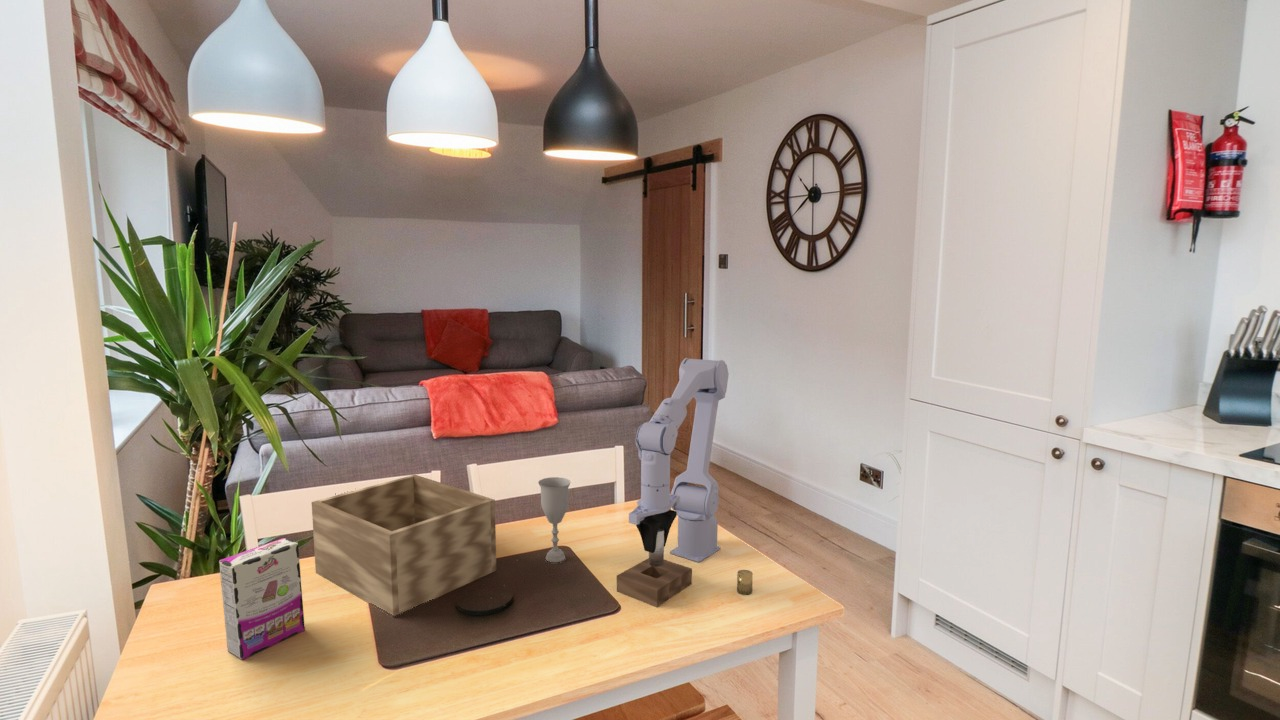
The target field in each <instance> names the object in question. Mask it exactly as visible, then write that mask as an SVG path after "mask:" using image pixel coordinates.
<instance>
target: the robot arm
mask: <svg viewBox="0 0 1280 720" xmlns="http://www.w3.org/2000/svg"><path fill="white" fill-rule="evenodd" d="M678 379H679V380H678V383H677V385H676V387H675V388H674V390H673V392H672V395H671V397H667V398H664V399H663V400H662V401H661V403H660V404H659V406H658V408H657V409H656V410H655V412H654V414H653V415H652V416H651V418H650V420H649V421H646V422H643V424H640V425H639V426H638V429H637V431H636V435H635V446H636V449H637V451H638V459H639V460H640V463H641V464H640V499H639V500H637V502H636V504H637V506H636V507H635V508H634V509H633V510H632V511H630V512H629V513H628V523H629V524H632V525H635V526H636V528H637V530H638V532H639V534H640V538H641V542H642V546H643V549H644V551H645V552H647V553H649V552H650V553H654V552H655V549H656V539H657V533H658V529H659V527H660V528H663V529H664V548H665V547H666V543H667V540H668V536H669V533H670V530H671V527H672V524H673V522H674V521H675V520H676V518H677V547H675V548H673V549H671V550H669V554H671V555H674V556H677V557H681V558H684V559H687V560H690V561H693V562H696V563H700V562H702V561H703V560H705V559H707V558H709V557H710V556H712V555H713V554H715V553H716V552H718V551H720V550H721V546H719V545H718V527H719V526H718V524H719V523H718V519H717V516H716V515H715V514H716V513H717V512H718V507H719V503H720V502H719V500H720V497H719V487H720V486H719V482H717V480H716V479H715V478H714V477H713V476H712V475H711V474H710V473H709V470H710V463H711V456H712V449H713V443H714V434H715V429H716V428H715V427H716V420H717V413H718V407H719V401H721V400H723V399H725V398H726V393H727V390H728V389H727V388H728V382H729V369H728V365H727V364H726V362H725V360H722V359H720V360H715V359H714V360H713V359H712V360H711V359H698V358H690V357H685V358H684V359H682V361H681V362H680V365H679V369H678ZM693 398H694V399H695V403H696V404H695V410H694V417H693V425H692V429H691V430H692V432H691V436H690V437H691V439H690V443H689V444H690V445H689V451H688V458H687V465H686V470H685V471H683V472H681V473H680V474H678V475H677V476H676V477H675V479H674V483H673V486H672V489H671V453H672V452H673V450H674V449H675V446H676V442H677V438H678V434H679V432H678V430H679V428H681V425H682V424H683V422H684V420H685V419H686V417H687V415H688V410H687V406H688V404H689V403H690V402H691V401H692V399H693ZM691 484H695V485H691ZM696 485H697V486H696ZM698 485H701V486H698ZM702 486H704V487H702Z"/></svg>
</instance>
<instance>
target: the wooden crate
mask: <svg viewBox="0 0 1280 720" xmlns="http://www.w3.org/2000/svg"><path fill="white" fill-rule="evenodd" d="M311 514H312V515H311V517H312V533H313V535H312V536H313V548H314V549H313V550H314V566H315V574H317V575H318V576H320V577H322V578H324V579H326V580H327V581H328V582H331V583H333V584H334V585H336V586H337V587H339V588H341V589H342V590H344V591H346V592H348V593H349V594H351V595H353V596H355V597H356V598H358V599H360V600H362V601H364V602H366V603H367V604H369V603H372V604H374V605H376V606H377V607H379V608H381V609H383V610H385V611H387V612H388V613H390V614H392V615H395V614H397V613H399V612H401V611H404V610H406V609H409V608H412V607H414V606H416V605H419V604H422V603H424V602H426V603H428V602H430V601H429V600H431V601H433V600H434V599H438V598H439V597H441V596H442V597H443V595H446V594H448V593H450V592H452V591H454V590H456V589H458V588H461V587H463V586H466V585H467V584H470V583H472V582H474V581H477V580H479V579H481V578H483V577H485V576H487V575H489V574H491V573H493V572H496V571H497V544H496V543H497V540H496V539H497V538H496V537H497V534H496V531H497V530H496V499H494V498H491V497H487V496H485V495H480V494H477V493H474V492H472V491H469V490H464V489H462V488H458V487H456V486H453V485H449V484H446V483H443V482H439V481H436V480H433V479H430V478H428V477H423V476H421V475H418V474H412V475H409V476H404V477H400V478H397V479H393V480H389V481H386V482H382V483H378V484H374V485H371V486H367V487H363V488H359V489H355V491H347V492H344V493H341V494H338V495H336V494H335V495H332V496H329V497H326V498H322V499H318V500H313V501H311ZM432 599H433V600H432ZM427 601H428V602H427ZM424 604H425V603H424ZM422 605H423V604H422Z"/></svg>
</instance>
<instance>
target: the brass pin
mask: <svg viewBox="0 0 1280 720" xmlns="http://www.w3.org/2000/svg"><path fill="white" fill-rule="evenodd" d="M736 575H737V577H736V578H737V579H736V581H737V583H736V592H737V593H738V594H739V595H741V596H750V595H753V594H752V593H753V579H754V578H753V575H754V574H753V572H752V571H751V570H749V569H739V570H738V571H737V574H736Z"/></svg>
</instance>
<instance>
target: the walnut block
mask: <svg viewBox="0 0 1280 720" xmlns="http://www.w3.org/2000/svg"><path fill="white" fill-rule="evenodd" d="M692 577H693V567H692V568H691V567H689V566H685V565H681V564H679V563H677V562H673V561H669V560H667V559H664V564H663V565H662V566H659V567H654V566H651V565H649V557H648V558H646V559H644V560H643V561H641V562H639V563H637V564H635V565H634V566H631V567H630V568H628V569H626V570H624V571H623V572H620V573H619V574H616V592H617V593H619V594H622V595H624V596H627V597H630V598H632V599H635V600H637V601H639V602H643V603H645V604H647V605H650V606H653V607H655V608H659V607H660V606H662V605H663V604H665V603H666V602H668V601H669V600H670V599H672V598H674V597H675V596H676V595H678V594H680V593H681V592H683V591H684V590H685V589H686V588H689V587H690V586H691V585H692V583H693V578H692Z"/></svg>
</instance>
